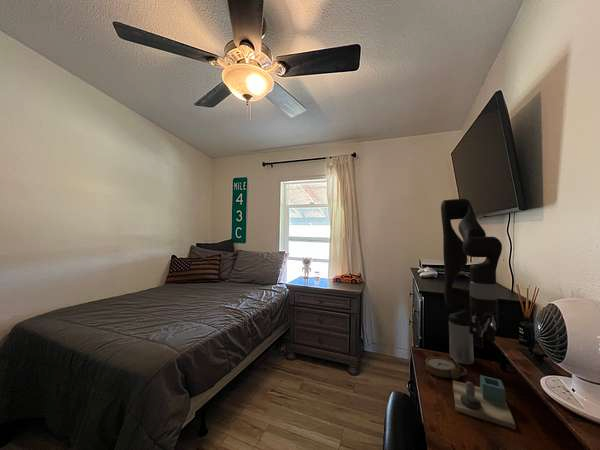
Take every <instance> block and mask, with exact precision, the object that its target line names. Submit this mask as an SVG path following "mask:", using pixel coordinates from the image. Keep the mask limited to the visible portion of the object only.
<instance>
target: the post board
mask: <svg viewBox="0 0 600 450" xmlns="http://www.w3.org/2000/svg"><path fill="white" fill-rule="evenodd" d="M452 389H453V397H454V408H455V411H456V412H458V413H462V414H465V415H468V416H471V417H475V418H477V419H481V420H483V421H487V422H490V423H493V424H497V425H499V426H503V427H504V428H508V429H509V428H510V429H512V430H516V429H517V426H516V422H515V419H514V417H513V415H512V412H511V410H510V408H509V405H508V403H507V402H506V405H504V404H500V403H497V402H493V401H489V400H486V399H483V397H482V393H481V389H480V386H477V385H476V386H475V384H474V383H473V382H472V381H466V382H460V381H457V380H455V379H452Z"/></svg>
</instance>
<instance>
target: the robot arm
mask: <svg viewBox="0 0 600 450" xmlns="http://www.w3.org/2000/svg"><path fill="white" fill-rule="evenodd" d="M475 213H476V212H475V211H474V209H473V205H472V204H471V202H470V201H469V199H466V198H454V199H445V200H442V201H441V205H440V214H441V215H440V216H441V223H442V224H441V225H442V236H443V237H442V238H443V241H442V242H443V243H442V245H443V246H442V247H443V267H444V287H443V288H444V291H443V296H444V303H445V305H446V306H447V307H449V308H456V309H457V308H458V309H462V310H460V311H458V312H453V313H450V314H448V337H449V338H448V339H449V344H448V345H449V358H450V357H451V358H452V359H453V360H455V361H457V362H459V363H463V364H473V363H475V358H474V346H475V347H476V348H479V349H483V348H484V338H483V337H484V336H483V335H484V332H486V340H487V341H490V342H492V343H494V342H496V331H497V328H498V329H499V326H500V324H499V299H498V298H499V296H498V295H499V294H498V292H499V291H498V286H497V269H498V268H497V267H498V264H499V259H500V258H501V255H502V252H503V244H502V241H501V240H500V239H499V238H497V236H487V233H486V231H485V230H484V228H483V226H482V225H480V223H479V221H478V219H477V217H476V214H475ZM452 220H460V221H459V224H458V226H457V227H458V232H459V234H460V236H461V237H460V236H459V235H458V233H456V231H455V230H454V228H453V225H452ZM461 238H462V239H461ZM468 257H470V258H485V259H484V261H483V262H479V263H473V264H471V265H470V266H469V288H463V287H453V284H454V283H455V280H456V279H457V277H458V276H459V274H460V273H461V272H462V271H463V269H464V268H465V267H466V266H467V263H468ZM473 310H474V315H473ZM453 360H452V361H453ZM463 364H462V365H463ZM473 365H474V364H473Z"/></svg>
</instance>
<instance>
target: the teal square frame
mask: <svg viewBox="0 0 600 450" xmlns="http://www.w3.org/2000/svg"><path fill="white" fill-rule="evenodd" d="M479 385H480V386H479V387H480V389H481V393H482V397H483V399H486V400H489V401H493V402H497V403H500V404H504V405H506V403H507V401H506V388H505V387H504V384H503V382H502V380H501V379H498V378H493V377H489V376H485V375H482V374H480V375H479Z"/></svg>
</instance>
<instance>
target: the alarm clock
mask: <svg viewBox="0 0 600 450" xmlns="http://www.w3.org/2000/svg"><path fill="white" fill-rule="evenodd" d="M424 362H425V366H424V367H423V368H425V369H426V370H427V372H429V373H430V374H432V376H435V377H439V378H447V379H448V378H451V380H454V381H457V380H459V379H460V378H461V377H463V376H467V374H468V373H467V369H466V368H465V367H463V366H462V365H461V364H459V363H458V362H457V361H455V360H451V359H448V358H444V357H441V356H429V357H427V358H426V359H425V361H424ZM461 371H464V372H461Z"/></svg>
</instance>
